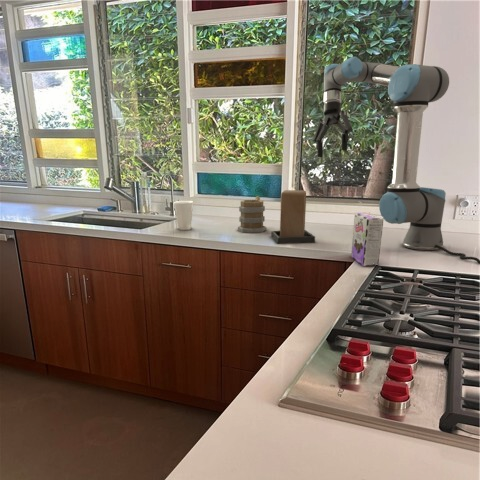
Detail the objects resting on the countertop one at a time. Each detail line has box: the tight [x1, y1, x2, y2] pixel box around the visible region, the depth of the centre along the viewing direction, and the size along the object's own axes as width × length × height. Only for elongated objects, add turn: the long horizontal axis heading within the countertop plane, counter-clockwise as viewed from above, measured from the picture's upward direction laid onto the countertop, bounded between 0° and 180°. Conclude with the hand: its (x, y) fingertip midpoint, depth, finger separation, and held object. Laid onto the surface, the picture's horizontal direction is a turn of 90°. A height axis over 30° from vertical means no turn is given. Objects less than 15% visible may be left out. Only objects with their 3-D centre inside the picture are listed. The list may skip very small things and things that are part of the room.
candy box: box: [350, 211, 385, 267], centre depth 162 cm, size 14×6×16 cm, turn 4°
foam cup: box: [173, 200, 194, 231], centre depth 228 cm, size 10×9×13 cm
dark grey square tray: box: [270, 229, 316, 245], centre depth 203 cm, size 16×16×2 cm
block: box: [279, 189, 307, 237], centre depth 199 cm, size 10×10×20 cm
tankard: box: [237, 195, 267, 234], centre depth 225 cm, size 20×13×15 cm, turn 161°
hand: (331, 153), depth 203 cm, fingers open, 13 cm apart
